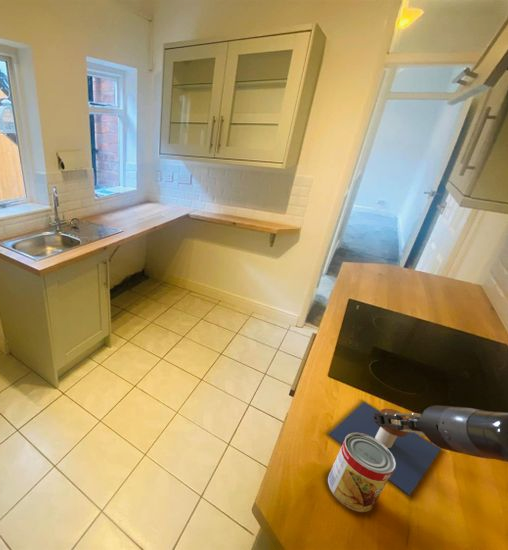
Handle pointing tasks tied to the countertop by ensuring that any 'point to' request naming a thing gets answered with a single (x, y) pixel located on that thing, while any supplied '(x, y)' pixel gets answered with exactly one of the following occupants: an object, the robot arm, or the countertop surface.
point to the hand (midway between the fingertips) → (396, 420)
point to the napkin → (406, 450)
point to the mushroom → (390, 431)
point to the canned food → (360, 471)
